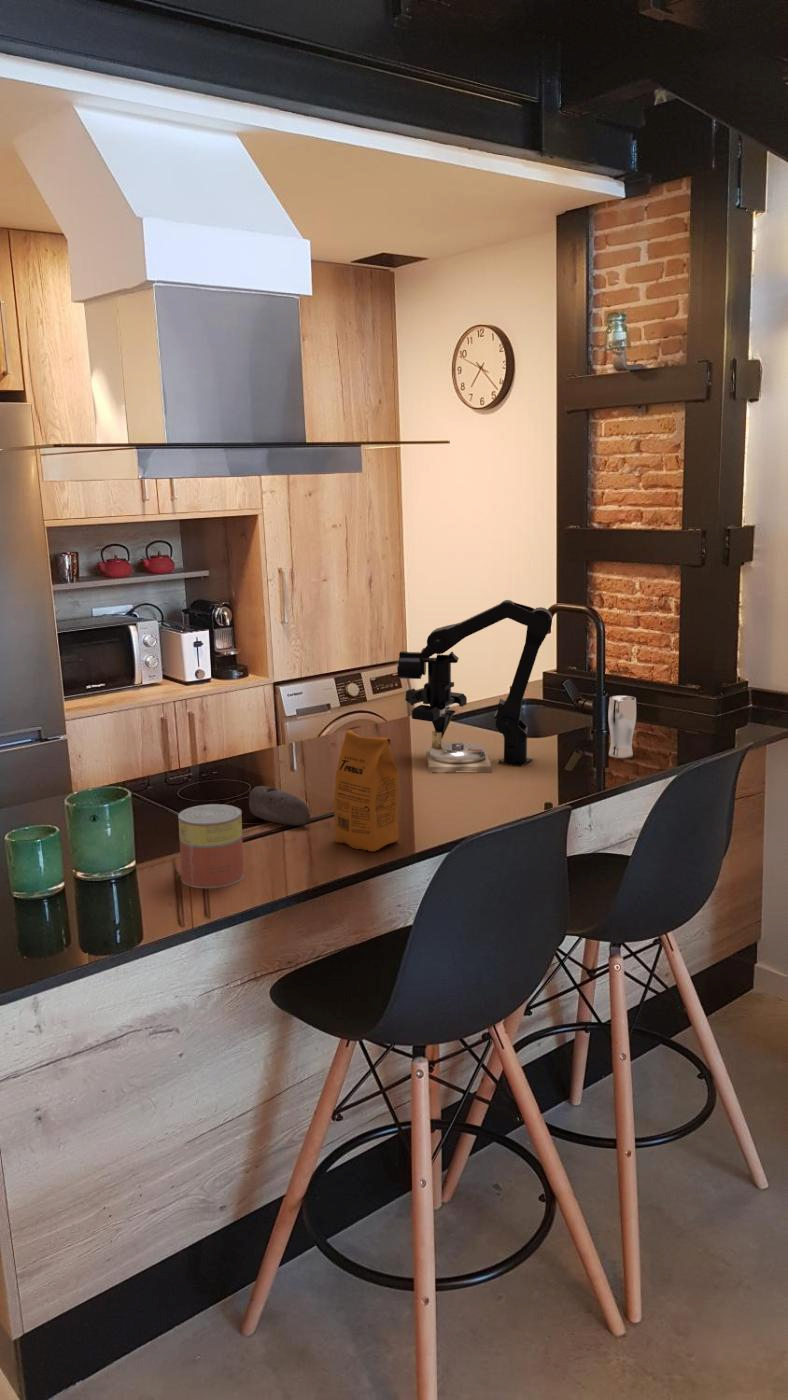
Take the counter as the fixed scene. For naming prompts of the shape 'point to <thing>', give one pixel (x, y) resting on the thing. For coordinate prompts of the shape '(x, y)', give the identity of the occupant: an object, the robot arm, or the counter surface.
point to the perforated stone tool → (278, 806)
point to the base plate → (458, 765)
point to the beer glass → (621, 725)
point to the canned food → (211, 845)
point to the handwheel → (455, 751)
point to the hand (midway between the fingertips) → (439, 738)
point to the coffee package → (366, 793)
